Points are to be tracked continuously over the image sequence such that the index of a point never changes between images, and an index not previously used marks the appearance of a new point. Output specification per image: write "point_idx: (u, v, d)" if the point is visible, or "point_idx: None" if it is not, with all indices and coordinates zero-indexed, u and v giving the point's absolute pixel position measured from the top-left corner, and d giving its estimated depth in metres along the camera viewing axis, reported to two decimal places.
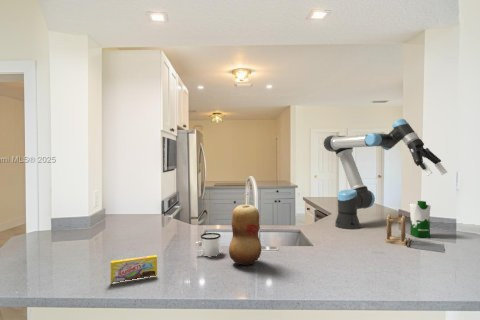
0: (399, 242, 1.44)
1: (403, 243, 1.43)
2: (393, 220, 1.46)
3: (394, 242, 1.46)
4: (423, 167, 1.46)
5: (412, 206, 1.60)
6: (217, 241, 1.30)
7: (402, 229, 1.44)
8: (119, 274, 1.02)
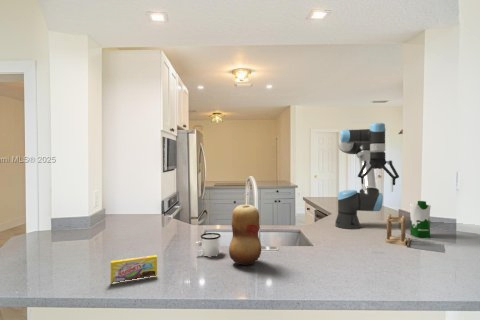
0: (399, 242, 1.44)
1: (403, 243, 1.43)
2: (393, 220, 1.46)
3: (394, 242, 1.46)
4: None
5: (412, 206, 1.60)
6: (217, 241, 1.30)
7: (402, 229, 1.44)
8: (119, 274, 1.02)
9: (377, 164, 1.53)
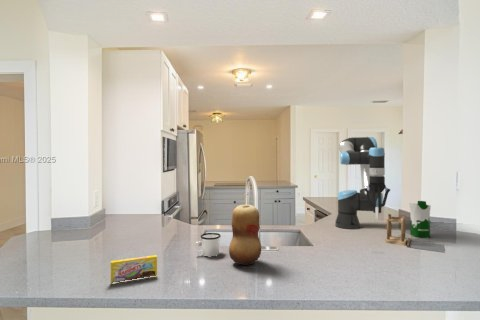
0: (399, 242, 1.44)
1: (403, 243, 1.43)
2: (393, 220, 1.46)
3: (394, 242, 1.46)
4: (373, 211, 1.55)
5: (412, 206, 1.60)
6: (217, 241, 1.30)
7: (402, 229, 1.44)
8: (119, 274, 1.02)
9: (376, 188, 1.53)
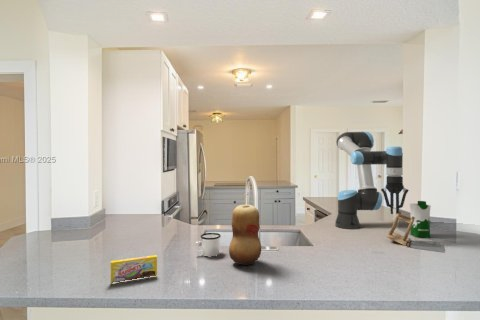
0: (400, 241, 1.44)
1: (404, 243, 1.43)
2: (402, 219, 1.44)
3: (395, 239, 1.45)
4: None
5: (412, 206, 1.60)
6: (217, 241, 1.30)
7: (408, 230, 1.43)
8: (119, 274, 1.02)
9: (394, 189, 1.48)
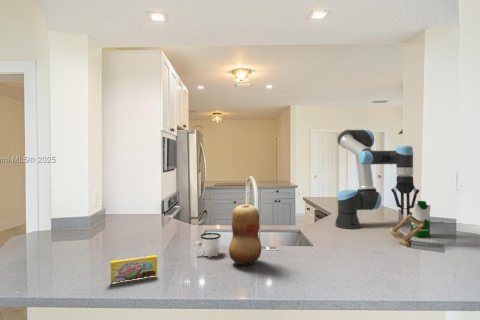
0: (402, 240, 1.44)
1: (404, 242, 1.43)
2: (412, 221, 1.42)
3: (397, 237, 1.45)
4: (401, 212, 1.47)
5: None
6: (217, 241, 1.30)
7: (414, 232, 1.41)
8: (119, 274, 1.02)
9: (404, 189, 1.46)
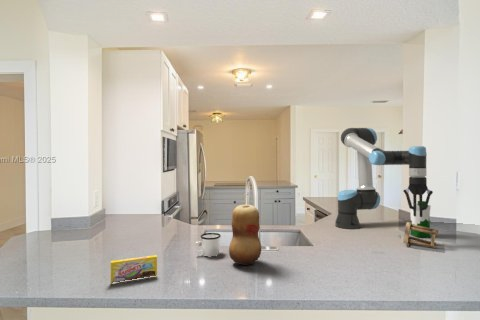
0: (406, 238, 1.43)
1: (405, 241, 1.43)
2: (433, 238, 1.37)
3: (406, 233, 1.43)
4: None
5: None
6: (217, 241, 1.30)
7: (422, 244, 1.39)
8: (119, 274, 1.02)
9: (417, 190, 1.43)
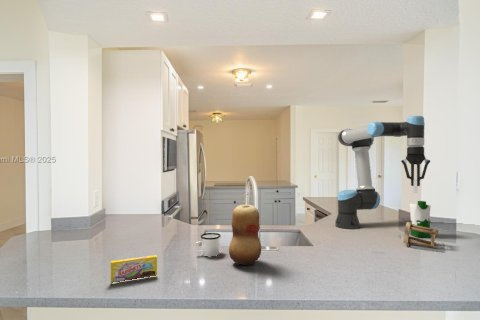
0: (406, 238, 1.43)
1: (405, 241, 1.43)
2: (433, 238, 1.37)
3: (406, 233, 1.43)
4: (411, 184, 1.45)
5: (412, 206, 1.60)
6: (217, 241, 1.30)
7: (422, 244, 1.39)
8: (119, 274, 1.02)
9: (415, 160, 1.44)
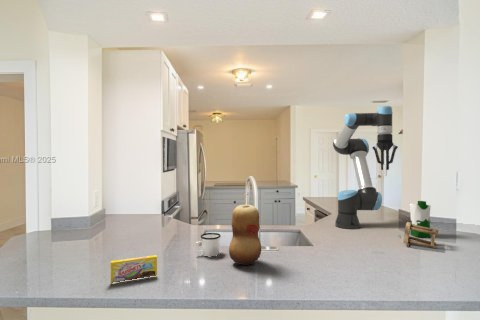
0: (406, 238, 1.43)
1: (405, 241, 1.43)
2: (433, 238, 1.37)
3: (406, 233, 1.43)
4: (381, 168, 1.60)
5: (412, 206, 1.60)
6: (217, 241, 1.30)
7: (422, 244, 1.39)
8: (119, 274, 1.02)
9: (384, 146, 1.58)
